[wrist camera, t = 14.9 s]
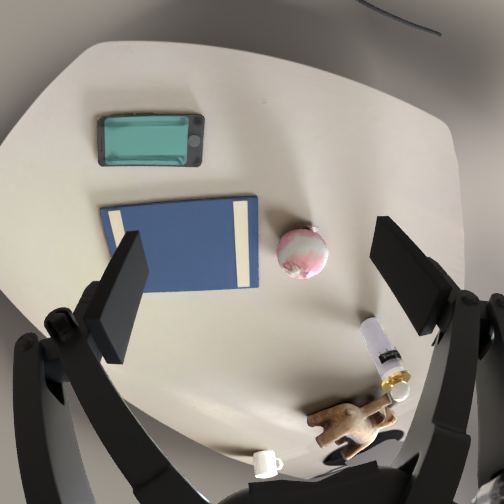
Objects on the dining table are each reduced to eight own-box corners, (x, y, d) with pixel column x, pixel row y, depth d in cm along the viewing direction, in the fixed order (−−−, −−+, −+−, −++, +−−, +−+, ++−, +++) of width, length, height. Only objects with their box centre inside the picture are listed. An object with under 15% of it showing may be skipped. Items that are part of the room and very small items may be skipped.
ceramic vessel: (349, 467, 79) (412, 430, 75) (309, 446, 67) (391, 400, 63) (338, 440, 90) (397, 405, 87) (299, 412, 79) (372, 368, 75)
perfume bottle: (378, 329, 60) (412, 402, 43) (354, 334, 60) (385, 411, 43) (382, 310, 57) (422, 385, 40) (357, 315, 57) (393, 395, 40)
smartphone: (200, 167, 39) (97, 166, 37) (201, 165, 40) (101, 164, 38) (204, 114, 35) (96, 116, 33) (205, 113, 36) (100, 115, 34)
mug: (286, 449, 94) (290, 471, 86) (262, 458, 98) (264, 479, 89) (273, 446, 91) (276, 469, 82) (248, 454, 94) (250, 476, 86)
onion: (264, 237, 46) (270, 262, 40) (306, 209, 44) (319, 231, 38) (290, 270, 50) (299, 298, 44) (330, 246, 48) (344, 271, 42)
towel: (257, 195, 43) (257, 197, 42) (258, 284, 51) (258, 287, 50) (101, 207, 41) (98, 210, 41) (123, 290, 50) (122, 293, 49)
